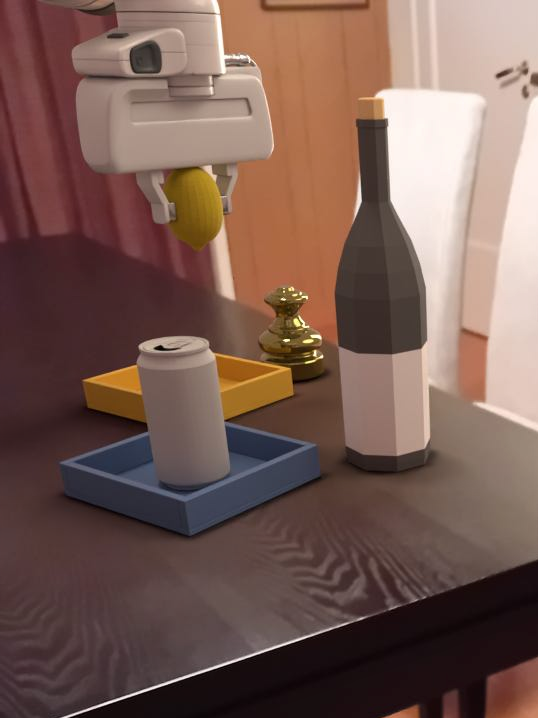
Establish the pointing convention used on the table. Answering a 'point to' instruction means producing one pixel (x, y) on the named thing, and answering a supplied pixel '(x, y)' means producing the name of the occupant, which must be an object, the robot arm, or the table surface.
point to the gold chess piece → (291, 336)
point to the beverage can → (183, 411)
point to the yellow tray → (236, 381)
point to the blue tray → (190, 507)
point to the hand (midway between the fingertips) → (193, 218)
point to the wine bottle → (381, 319)
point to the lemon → (194, 206)
